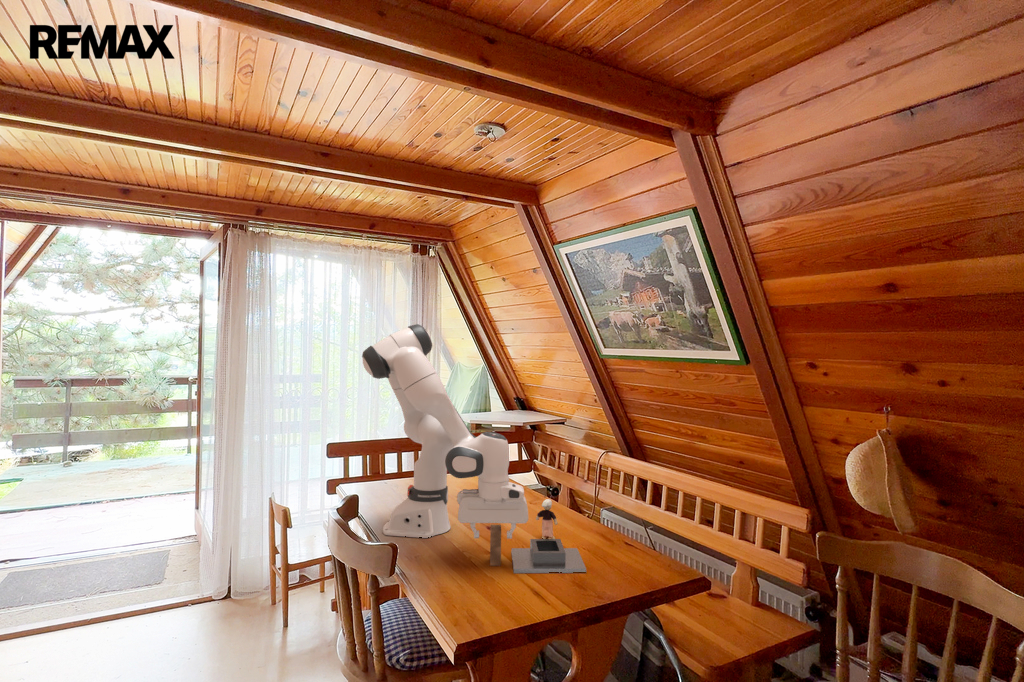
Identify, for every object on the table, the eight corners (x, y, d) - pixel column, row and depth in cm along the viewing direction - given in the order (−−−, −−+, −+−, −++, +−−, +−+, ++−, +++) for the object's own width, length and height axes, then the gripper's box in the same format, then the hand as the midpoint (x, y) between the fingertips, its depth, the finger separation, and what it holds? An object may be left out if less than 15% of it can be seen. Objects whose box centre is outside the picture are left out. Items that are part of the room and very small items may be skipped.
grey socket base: (513, 573, 147) (514, 555, 147) (511, 552, 162) (511, 536, 162) (586, 572, 148) (586, 555, 148) (577, 552, 163) (577, 536, 163)
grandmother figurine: (559, 537, 175) (560, 498, 175) (556, 541, 171) (557, 501, 171) (537, 534, 177) (537, 496, 178) (533, 538, 174) (534, 499, 174)
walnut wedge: (490, 565, 152) (490, 530, 152) (490, 558, 157) (490, 524, 157) (500, 565, 152) (501, 530, 152) (500, 558, 157) (500, 524, 157)
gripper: (456, 492, 150) (455, 541, 150) (528, 492, 151) (528, 542, 150) (458, 486, 157) (457, 533, 157) (528, 486, 157) (527, 534, 157)
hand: (493, 537), depth 153 cm, fingers open, 8 cm apart
